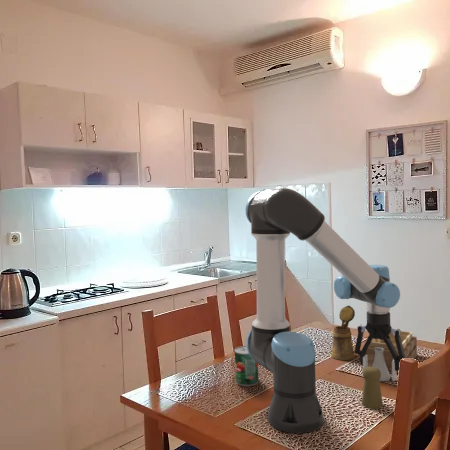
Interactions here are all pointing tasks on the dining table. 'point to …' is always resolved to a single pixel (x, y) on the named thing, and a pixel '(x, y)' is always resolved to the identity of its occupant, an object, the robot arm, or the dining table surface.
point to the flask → (381, 364)
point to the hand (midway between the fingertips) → (379, 377)
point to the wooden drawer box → (409, 353)
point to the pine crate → (404, 336)
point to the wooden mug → (343, 336)
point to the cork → (372, 388)
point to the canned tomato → (245, 367)
